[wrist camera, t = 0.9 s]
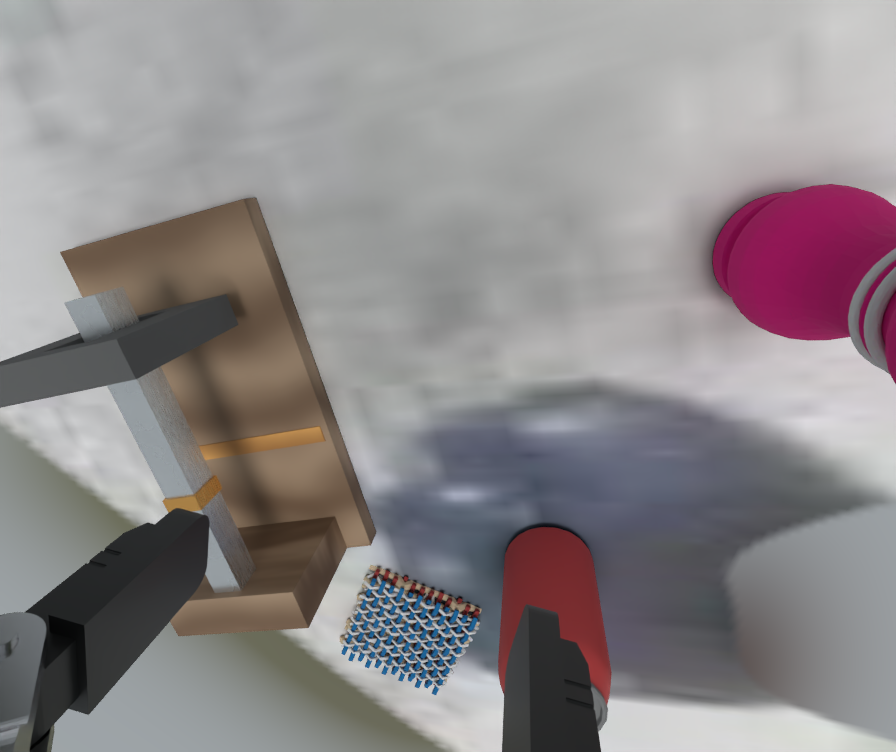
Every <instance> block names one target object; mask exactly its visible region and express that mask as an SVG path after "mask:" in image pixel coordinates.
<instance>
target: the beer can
mask: <svg viewBox="0 0 896 752" xmlns="http://www.w3.org/2000/svg"><path fill="white" fill-rule="evenodd" d="M526 604H528V605H532V606H536V607H539V608H543V609H547V610H550V611H554V612H557V613H558V616H559V626H560V638H562V639H566V640H569V641H573V642H577V644H578V646H579V648H580V650H581V652H582V654H583V655H584V657H585V659H586V661H587V663H588V666H589V673H590V679H591V686H592V687H591V691H592V693H593V700H594V710H595V714H596V721H597V728H598V731H599V730H601V728H602V727H603V725H604V723H605V722H606V720H607V711H608V708H607V703H608V699H609V694H610V684H611V667H610V661H609V655H608V649H607V643H606V637H605V630H604V624H603V618H602V612H601V606H600V600H599V594H598V588H597V582H596V576H595V569H594V563H593V559H592V556H591V553H590V550H589V549H588V548H587V546H586V545H585V544H584V543H583V541H582V540H581V539H580V538H578V537H577V536H575V535H573V534H572V533H570V532H568V531H565V530H562V529H559V528H554V527H539V528H534V529H529V530H527V531H525V532H524V533H522V534H520V535H518V536H517V537H516V538H515V539H514V540H513V541H512V542H511V543H510V544H509V546H508V549H507V551H506V554H505V564H504V580H503V595H502V611H501V627H500V643H499V659H498V671H499V679H500V685H501V688H502V691H503V693H504V690H505V674H506V667H507V661H508V657H509V653H510V649H511V646H512V643H513V640H514V637H515V634H516V631H517V628H518V625H519V622H520V619H521V616H522V613H523V610H524V607H525V605H526Z"/></svg>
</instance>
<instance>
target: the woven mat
mask: <svg viewBox="0 0 896 752" xmlns="http://www.w3.org/2000/svg"><path fill="white" fill-rule="evenodd" d="M369 569H370V570H373V571H375V573H372V574H370V575H366V577H365V578H364V579H363V580H364V582H363V585H362V588H364V590H367V592H366V593H361V594H358V595H357V604H358V605H357V607H356V609H357V610H356V611H353V612H352V613H353V614H354V615H356V619H354V618H353V617H352V616H351V618H350V619H348V620H347V622H346V624H347V625H346V627H345V629H346V630H347V632H349V635H345V636H341V637H340V642H341V643H342V645H341V646H344V648H343V650H342V654H343V655H345V654H346V652H347V649H349V650H350V651H351V654H350V657H349V661H353V658H354V656H355V653H360V656H359V658H358V661H362V659H363V658H364V656H365V655H366V657H367V658H368V659H367V663H366V665H365V667H367V668H369V666H370V664H371V662H372V660H376V659H377V660H376V664H375V667H376V668H378V667H379V666H380V665H381V663H382V662H383V664H384V665H385V666H384V669H383V671H382V674H384V675H386V673H387V670H388V668H389V667H392V666H393V668H392V672H391V674H393V675H395V673H396V672H397V671H398V669H400V670H401V671H400V672H401V675H400V677H399V681H403V679H404V676H405V674H409V677H408V681H412V679H414V678H415V676H416V677H417V683H416V685H415V687H417V688H419V687H420V684H421V682H422V681H424V680H425V687H426V688H428V687H429V686H430V685H432V682H433V683H434V685H435V687H434V689H433V692H432V694H434V695H436V694H437V692H438V689H439V688H440V687H442V686H444V685H447V678H449V677H447V676H446V674H448V673H451V674H453V673H454V672H453V670H452V669H451V668H453V667H456V666H457V664H456V663H455V662H457V663H459V662H460V661H459V660H458V659H457V657H461V656H462V655H464V654H463V653H465V652H466V651H465V649H464V647H468V645H469V644H467V643H469V642H470V641H472V640H473V639H472V638H471V637H470V636H469V635H471V634H475V633H476V630H478V629H479V627H477V626H479V624H480V621H478V619H477V616H478V614H480V613H481V610H482V609H480V608H478V607H476V606H474V605H471V604H469V603H466V602H462V599H460V598H458V599H457V600H456V599H455V598H454V597H451V596H448V595H446V594H444V593H443V592H439V591H436V590H434V589H431V588H429V587H426V586H424V585H421V584H419V583H416V582H414V581H412V580H409V581H407V580H408V577H406V576H404V578H402V577H401V576H399V575H396V574H394V573H391V572H390V571H387V570H384V569H382V568H379V567H376V566H373V565H371V566H370V568H369ZM379 574H381V575H383V576H384V577H383V579H380V577H379ZM372 577H373V578H372ZM388 578H390V579H392V582H391V583H389V582H387V579H388ZM384 587H385V588H387V589H388V591H387V590H386V589H385V588H384ZM415 589H417V590H419V593H418V594H417V593H414V590H415ZM393 591H395V592H397V593H392V592H393ZM371 592H372V593H373V594H374V595H375V596H371ZM424 593H426V594H425V595H424V596H423V594H424ZM401 597H403V598H405V599H403V598H401ZM435 597H437V600H436V601H435ZM431 598H432V600H431ZM430 600H431V601H430ZM441 600H444V601H446V603H445V605H444V604H441V603H440V602H441ZM368 601H370V602H372V605H371V606H370V605H369V604H368V603H367V602H368ZM411 601H414V603H413V602H411ZM376 605H379V606H381V607H380V608H376ZM397 605H402V607H401V608H400V607H398V606H397ZM449 606H450V607H449ZM385 608H386V609H389V612H387V611H386V610H385ZM407 608H409V609H410V610H409V611H407ZM430 609H432V610H430ZM438 611H439V614H438ZM462 611H463V612H462ZM469 611H471V612H474V613H473V614H472V616H471V615H469V614H468V612H469ZM394 612H396V613H398V614H397V615H393V614H394ZM416 613H419V615H418V614H416ZM425 615H427V616H428V618H425ZM448 616H449V617H448ZM457 616H458V617H460V618H459V619H458V618H457ZM360 618H363V619H365V621H360ZM383 620H385V621H383ZM467 620H468V622H466V621H467ZM369 621H370V622H372V623H374V624H373V626H372V625H371V624H370V623H369ZM390 622H391V623H392V624H390ZM378 625H379V626H382V627H380V628H377V627H378ZM420 625H422V627H420ZM401 627H402V628H401ZM451 627H454V629H452V628H451ZM474 628H475V629H476V630H475V631H472V630H473V629H474ZM408 629H409V631H408ZM462 629H463V630H462ZM461 630H462V631H461ZM366 632H370V633H369V634H368V633H366ZM459 632H461V633H459ZM374 634H375V635H376V636H377V638H375V637H374ZM353 635H358V637H357V639H356V638H354V637H353ZM362 638H365V640H366V641H365V642H363V641H361V639H362ZM403 638H405V641H404V639H403ZM435 641H436V642H435ZM391 642H393V643H394V644H393V643H391ZM443 644H444V645H443ZM421 645H422V646H421ZM442 645H443V646H442ZM352 646H354V647H353V648H352ZM358 648H359V649H360V650H357V649H358ZM390 649H391V650H390ZM431 649H432V650H431ZM461 651H462V653H461ZM387 652H388V653H389V654H388V653H387ZM398 652H400V653H398ZM368 653H370V654H368ZM375 655H376V657H374V656H375ZM407 656H408V657H407ZM426 656H427V657H426ZM425 657H426V658H425ZM400 663H401V664H400ZM443 663H445V664H443ZM401 666H403V667H401ZM409 669H410V670H409ZM438 670H441V671H438ZM418 673H419V674H418ZM425 676H427V677H425ZM443 683H444V684H443Z"/></svg>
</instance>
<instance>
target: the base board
mask: <svg viewBox="0 0 896 752" xmlns="http://www.w3.org/2000/svg"><path fill="white" fill-rule="evenodd" d="M60 253H61V255H62V257H63V259H64V261H65V263H66V265H67V267H68V269H69V271H70V273H71V275H72V277H73V279H74V281H75V283H76V285H77V287H78V289H79V291H80V293H81V295H82V297H86V296H90V295H93V294H97V293H101V292H105V291H108V290H112V289H116V288H120V287H124V290H125V292H126V294H127V296H128V298H129V300H130V302H131V304H132V307H133V309H134V311H135V313H136V315H137V316H138V315H142V314H146V313H150V312H154V311H158V310H162V309H167V308H171V307H175V306H179V305H183V304H187V303H191V302H195V301H200V300H204V299H208V298H212V297H216V296H220V295H224V294H226V295H227V297H228V300H229V302H230V304H231V307H232V309H233V312H234V314H235V317H236V319H237V322H238V324H239V325H237V326H235V327H233V328H232V329H230V330H228V331H226V332H224V333H222V334H220V335H218V336H217V337H215V338H213V339H211V340H209V341H207V342H205V343H203V344H202V345H200V346H198V347H196V348H194V349H192V350H190V351H188V352H187V353H185V354H183V355H181V356H179V357H177V358H175V359H173V360H172V361H170V362H168V363H166V364H164V365H162V366H161V368H162V370H163V372H164V374H165V376H166V378H167V380H168V383H169V385H170V387H171V389H172V391H173V393H174V395H175V397H176V400H177V402H178V404H179V406H180V408H181V410H182V412H183V414H184V416H185V419H186V421H187V423H188V425H189V427H190V429H191V431H192V433H193V435H194V438H195V440H196V442H197V444H198V446H199V448H200V450H201V452H202V454H203V457H204V459H205V461H206V463H207V465H208V467H209V469H210V471H211V473H212V476H214V475H217V478H218V480H219V482H220V484H221V486H222V489H221V490H220V493H221V495H222V497H223V499H224V501H225V503H226V505H227V507H228V509H229V512H230V514H231V516H232V518H233V520H234V522H235V524H236V526H237V528H238V531H239V533H240V535H241V537H242V539H243V541H244V543H245V545H246V547H247V550H248V552H249V554H250V556H251V558H252V560H253V562H254V564H255V566H256V570H255V571H254V573H253V574H252V576H251V577H250V579H249V580H248V582H247V583H246V585H245V586H244V587H243V589H242V590H241V591H234V592H222V593H215V592H214V590H213V588H212V586H211V584H210V583H209V581H208V579H207V577H206V575H204V578H203V580H202V582H201V584H200V586H199V587H198V589H197V590H196V591H195V593H194V594H193V595H192V596H191V597H190V598H189V600H188V601H187V602H186V603H185V604H184V605H183V607H182V608H181V609H180V610H179V611H178V612H177V613H176V615H175V616H174V617H173V618H172V619H171V620H170V622H171V624H172V626H173V627H174V629H175V631H176V633H177V634H178V636H190V635H205V634H221V633H236V632H252V631H266V630H283V629H298V628H309V626H310V624H311V622H312V620H313V617H314V615H315V613H316V611H317V609H318V607H319V605H320V603H321V601H322V599H323V597H324V595H325V593H326V590H327V588H328V586H329V584H330V582H331V580H332V578H333V576H334V574H335V572H336V570H337V568H338V566H339V563H340V561H341V559H342V557H343V555H344V553H345V551H346V549H347V548H349V547H358V546H368V545H371V543H372V541H373V539H374V536H375V534H376V531H375V528H374V525H373V522H372V519H371V517H370V514H369V511H368V508H367V505H366V503H365V500H364V497H363V494H362V492H361V489H360V486H359V483H358V480H357V478H356V475H355V472H354V469H353V467H352V464H351V461H350V458H349V455H348V453H347V450H346V447H345V444H344V441H343V439H342V436H341V433H340V430H339V428H338V425H337V422H336V419H335V416H334V414H333V411H332V408H331V405H330V403H329V400H328V397H327V394H326V391H325V389H324V386H323V383H322V380H321V377H320V375H319V372H318V369H317V366H316V364H315V361H314V358H313V355H312V352H311V350H310V347H309V344H308V341H307V339H306V336H305V333H304V330H303V327H302V325H301V322H300V319H299V316H298V313H297V311H296V308H295V305H294V302H293V300H292V297H291V294H290V291H289V288H288V286H287V283H286V280H285V277H284V275H283V272H282V269H281V266H280V263H279V261H278V258H277V255H276V252H275V249H274V247H273V244H272V241H271V238H270V236H269V233H268V230H267V227H266V224H265V222H264V219H263V216H262V213H261V211H260V208H259V205H258V202H257V199H256V198H249V199H242V200H238V201H235V202H232V203H228V204H225V205H221V206H218V207H214V208H211V209H207V210H204V211H200V212H197V213H194V214H190V215H187V216H183V217H180V218H176V219H173V220H169V221H166V222H162V223H159V224H156V225H152V226H149V227H145V228H142V229H138V230H135V231H131V232H128V233H124V234H121V235H118V236H114V237H111V238H107V239H104V240H100V241H97V242H93V243H90V244H86V245H83V246H80V247H76V248H73V249H69V250H66V251H62V252H60Z"/></svg>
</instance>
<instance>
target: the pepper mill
mask: <svg viewBox="0 0 896 752" xmlns="http://www.w3.org/2000/svg"><path fill="white" fill-rule="evenodd" d="M713 269H714V274H715V277H716V280H717V281H718V283H719V285H720V286H721V288H722V289H723V290H724V291H725V292H726V293H727V294H728V295H729V296H730V297H732V299H733V301H734V303H735V305H736V306H737V307H738V309H739V310H740V312H741V313H742V314H743V315H744V316H745V317H746V318H747V319H748V320H749V321H750V322H752V323H754V324H755V325H757V326H758V327H760V328H762V329H765V330H767V331H769V332H771V333H774V334H777V335H780V336H783V337H787V338H791V339H800V340H831V339H838V338H845V337H851V339H852V342H853V344H854V346H855V348H856V349H857V351H858V352H859V353H860V354H861V355H862V356H863V357H864V358H865V359H866V360H868V361H869V362H870V363H872V364H873V365H875V366H877V367H879V368H881V369H883V370H885V371H886V372H887V373H889V374H890V375H891V376H892V378H893V380H894V382H895V384H896V207H895V206H894V205H892V204H891V203H889V202H888V201H887V200H885V199H884V198H882V197H880V196H878V195H876V194H874V193H872V192H868V191H865V190H861V189H858V188H853V187H849V186H842V185H834V184H828V185H818V186H811V187H806V188H802V189H799V190H796V191H793V192H783V193H775V194H770V195H767V196H764V197H761V198H758V199H756V200H754V201H752V202H750V203H748V204H747V205H746V206H744V207H743V208H742V209H740V210H739V211H737V212H736V213H735V214H734V215H733V216H732V217H731V218H730V219H729V221H728V222H727V223H726V224H725V226H724V227H723V229H722V230H721V232H720V234H719V236H718V238H717V241H716V243H715V247H714V251H713Z"/></svg>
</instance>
